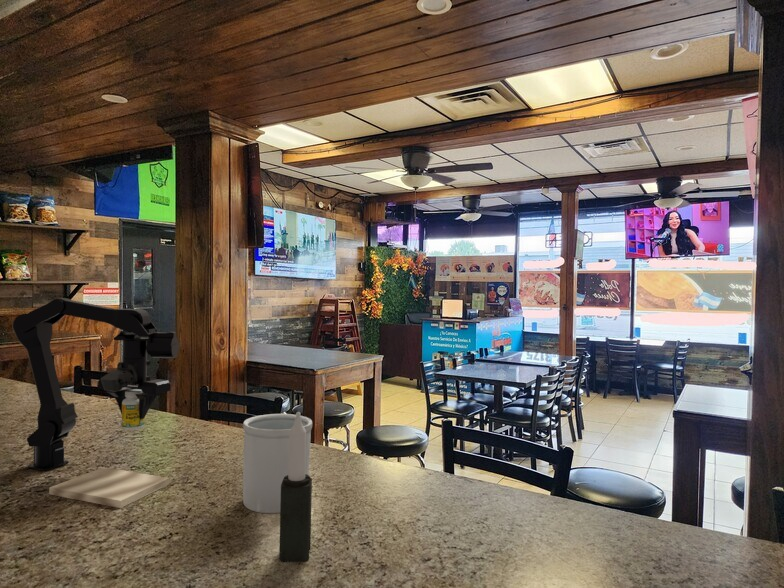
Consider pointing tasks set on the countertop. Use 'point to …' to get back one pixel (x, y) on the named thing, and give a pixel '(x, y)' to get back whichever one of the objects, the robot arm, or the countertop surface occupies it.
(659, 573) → the countertop surface
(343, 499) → the countertop surface
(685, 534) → the countertop surface
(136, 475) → the serving board
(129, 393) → the supplement bottle
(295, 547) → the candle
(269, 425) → the utensil holder
